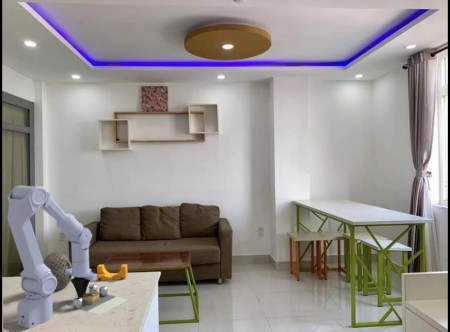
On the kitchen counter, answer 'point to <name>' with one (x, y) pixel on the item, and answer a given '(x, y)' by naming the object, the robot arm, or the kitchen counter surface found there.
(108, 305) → the board
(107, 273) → the pipe clamp
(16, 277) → the kitchen counter surface
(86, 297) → the brass nut
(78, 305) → the cylinder
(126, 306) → the kitchen counter surface
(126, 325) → the kitchen counter surface
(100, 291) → the cylinder
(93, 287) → the cylinder
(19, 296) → the kitchen counter surface
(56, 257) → the decorative egg
